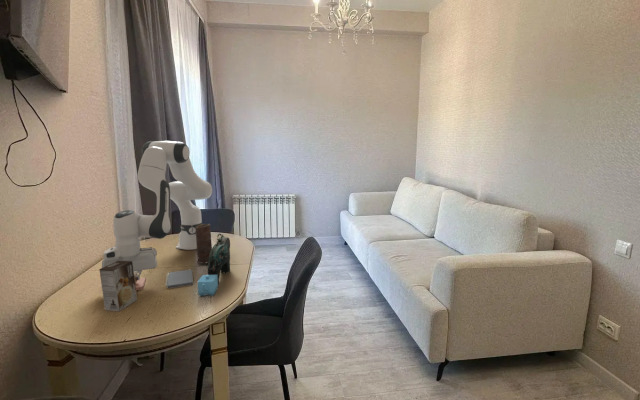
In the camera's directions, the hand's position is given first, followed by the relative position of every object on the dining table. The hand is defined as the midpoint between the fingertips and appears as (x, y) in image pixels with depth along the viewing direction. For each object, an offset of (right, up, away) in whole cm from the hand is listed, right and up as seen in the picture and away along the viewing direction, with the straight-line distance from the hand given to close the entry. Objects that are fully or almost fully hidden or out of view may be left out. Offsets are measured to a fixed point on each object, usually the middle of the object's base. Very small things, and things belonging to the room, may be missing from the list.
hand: (131, 280), depth 140 cm
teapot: (+35, -4, -7) cm, 36 cm away
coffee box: (+5, -6, -16) cm, 17 cm away
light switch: (+1, -2, +1) cm, 3 cm away
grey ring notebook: (+17, -1, +7) cm, 19 cm away
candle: (+21, +2, +28) cm, 35 cm away
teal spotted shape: (+35, -1, +9) cm, 37 cm away
